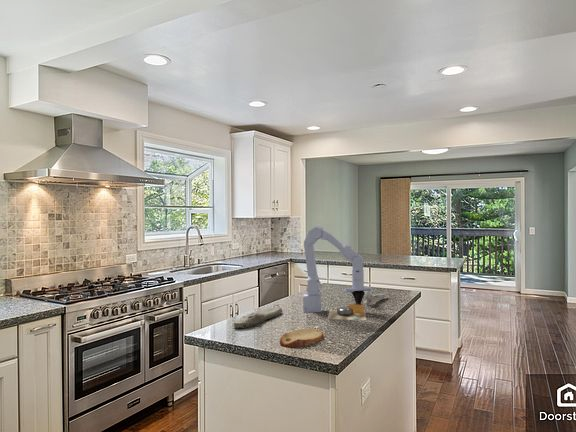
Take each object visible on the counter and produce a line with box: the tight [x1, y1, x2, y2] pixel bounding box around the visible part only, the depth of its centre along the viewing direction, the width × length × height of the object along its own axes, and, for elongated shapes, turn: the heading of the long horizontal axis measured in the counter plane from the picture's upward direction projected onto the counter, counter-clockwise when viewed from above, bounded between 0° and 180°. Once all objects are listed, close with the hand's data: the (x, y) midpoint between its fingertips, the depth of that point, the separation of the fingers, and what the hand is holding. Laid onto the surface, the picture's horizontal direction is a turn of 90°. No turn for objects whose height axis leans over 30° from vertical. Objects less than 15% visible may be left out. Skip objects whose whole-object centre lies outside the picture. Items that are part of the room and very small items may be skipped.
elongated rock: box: [233, 307, 283, 329], centre depth 186 cm, size 35×5×10 cm
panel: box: [327, 309, 367, 321], centre depth 189 cm, size 18×18×1 cm
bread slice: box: [279, 327, 324, 349], centre depth 155 cm, size 18×18×4 cm
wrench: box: [363, 291, 388, 307], centre depth 219 cm, size 8×2×30 cm
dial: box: [336, 303, 365, 316], centre depth 190 cm, size 13×8×5 cm, turn 80°
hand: (358, 305), depth 196 cm, fingers closed
